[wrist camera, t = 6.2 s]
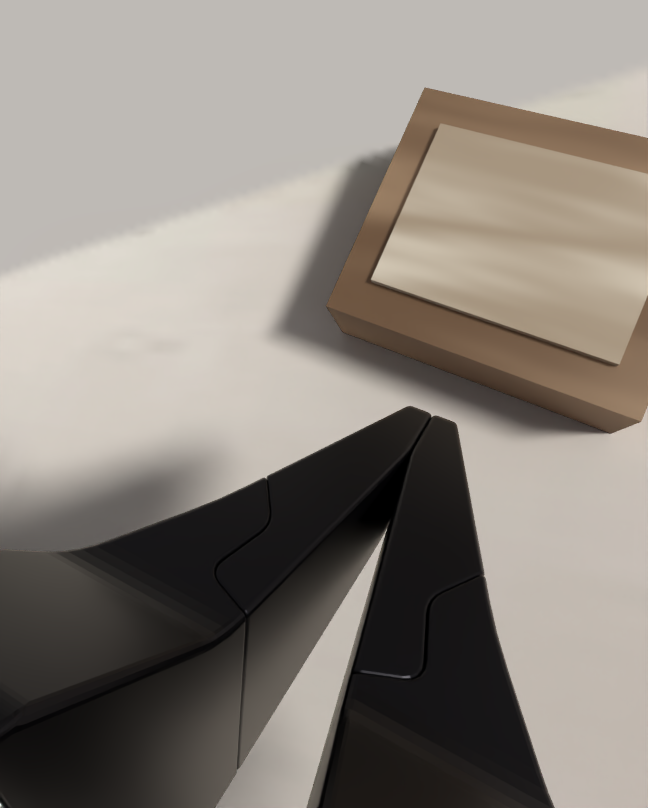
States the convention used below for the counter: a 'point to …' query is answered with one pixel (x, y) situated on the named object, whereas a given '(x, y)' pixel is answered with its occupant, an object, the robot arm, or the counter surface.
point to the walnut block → (510, 257)
